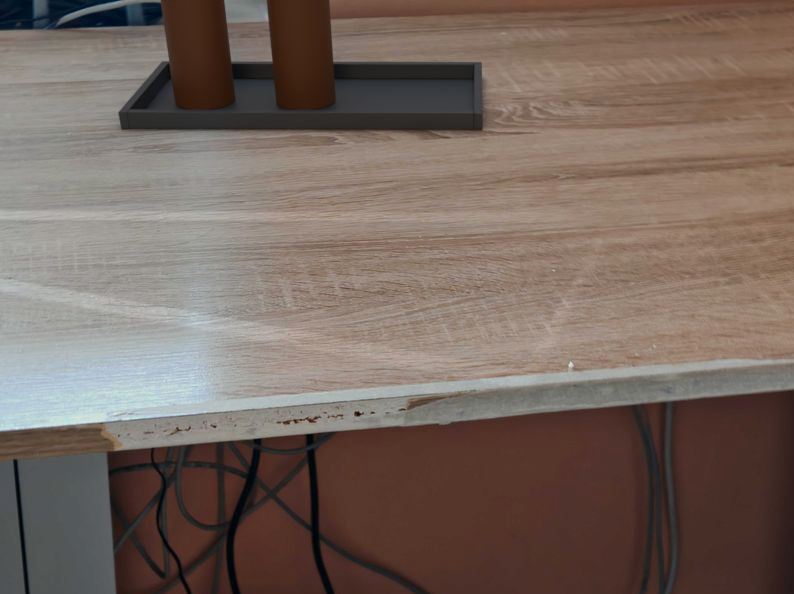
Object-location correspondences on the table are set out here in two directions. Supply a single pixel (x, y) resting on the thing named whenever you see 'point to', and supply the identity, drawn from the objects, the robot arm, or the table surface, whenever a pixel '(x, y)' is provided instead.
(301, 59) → the bottle
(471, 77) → the tray
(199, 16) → the bottle
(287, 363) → the table surface
